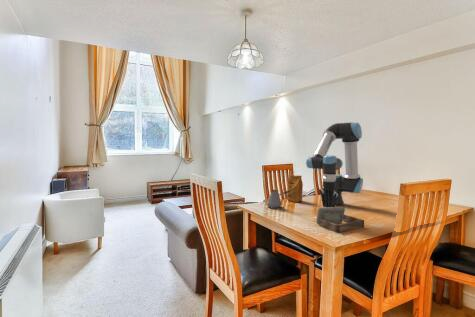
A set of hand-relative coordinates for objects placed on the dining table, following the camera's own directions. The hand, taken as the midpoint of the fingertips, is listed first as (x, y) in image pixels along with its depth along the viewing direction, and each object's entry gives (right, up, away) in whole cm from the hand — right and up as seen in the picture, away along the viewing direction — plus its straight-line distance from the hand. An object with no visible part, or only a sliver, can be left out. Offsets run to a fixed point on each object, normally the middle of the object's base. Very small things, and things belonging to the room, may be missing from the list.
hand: (328, 218), depth 158 cm
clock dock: (+4, -2, -8) cm, 9 cm away
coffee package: (-8, +1, +59) cm, 59 cm away
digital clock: (0, -3, -4) cm, 5 cm away
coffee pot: (-25, 0, +34) cm, 42 cm away
